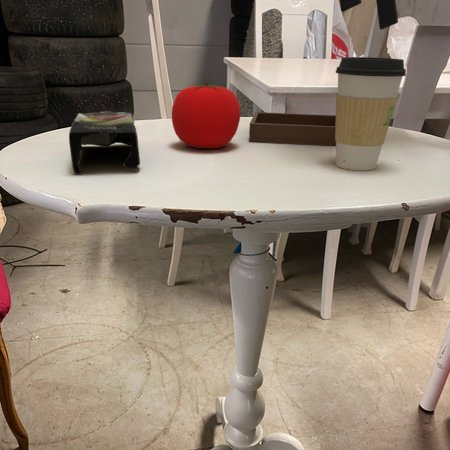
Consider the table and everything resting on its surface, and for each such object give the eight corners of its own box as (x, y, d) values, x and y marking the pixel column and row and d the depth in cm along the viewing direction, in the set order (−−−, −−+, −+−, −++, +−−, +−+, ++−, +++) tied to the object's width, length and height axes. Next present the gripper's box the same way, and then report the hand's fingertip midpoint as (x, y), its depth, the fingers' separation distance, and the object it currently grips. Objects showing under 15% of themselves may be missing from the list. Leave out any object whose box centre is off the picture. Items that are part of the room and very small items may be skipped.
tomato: (171, 153, 78) (168, 85, 73) (174, 139, 88) (172, 78, 83) (242, 154, 79) (244, 86, 74) (237, 140, 89) (238, 79, 84)
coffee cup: (399, 166, 74) (421, 59, 66) (367, 177, 68) (387, 61, 60) (345, 155, 80) (359, 56, 72) (311, 164, 74) (323, 57, 66)
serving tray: (337, 131, 99) (339, 115, 97) (343, 146, 86) (346, 127, 85) (254, 128, 100) (255, 111, 99) (248, 141, 88) (249, 123, 86)
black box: (78, 144, 82) (73, 107, 79) (134, 143, 84) (132, 107, 81) (71, 176, 65) (64, 130, 62) (142, 174, 67) (139, 130, 64)
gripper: (363, -94, 78) (380, 41, 81) (280, -168, 59) (306, 10, 63) (408, -123, 73) (424, 22, 76) (333, -213, 54) (359, -18, 58)
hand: (371, 17), depth 69 cm, fingers open, 13 cm apart
